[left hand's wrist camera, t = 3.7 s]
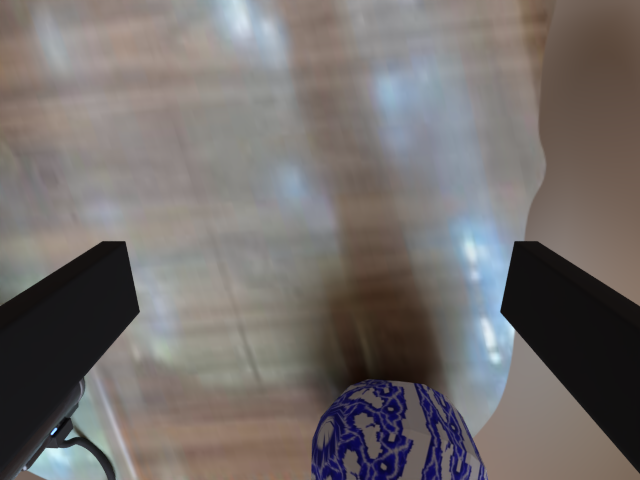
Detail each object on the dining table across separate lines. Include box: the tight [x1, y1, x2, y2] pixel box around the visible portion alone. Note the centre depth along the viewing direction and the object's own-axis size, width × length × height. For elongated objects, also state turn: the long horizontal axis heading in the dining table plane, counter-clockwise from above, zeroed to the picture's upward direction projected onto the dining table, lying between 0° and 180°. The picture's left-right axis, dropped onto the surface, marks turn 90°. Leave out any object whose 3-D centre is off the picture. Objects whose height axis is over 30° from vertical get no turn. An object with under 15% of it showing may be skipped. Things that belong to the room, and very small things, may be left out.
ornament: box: [311, 379, 488, 480], centre depth 42 cm, size 20×20×20 cm
